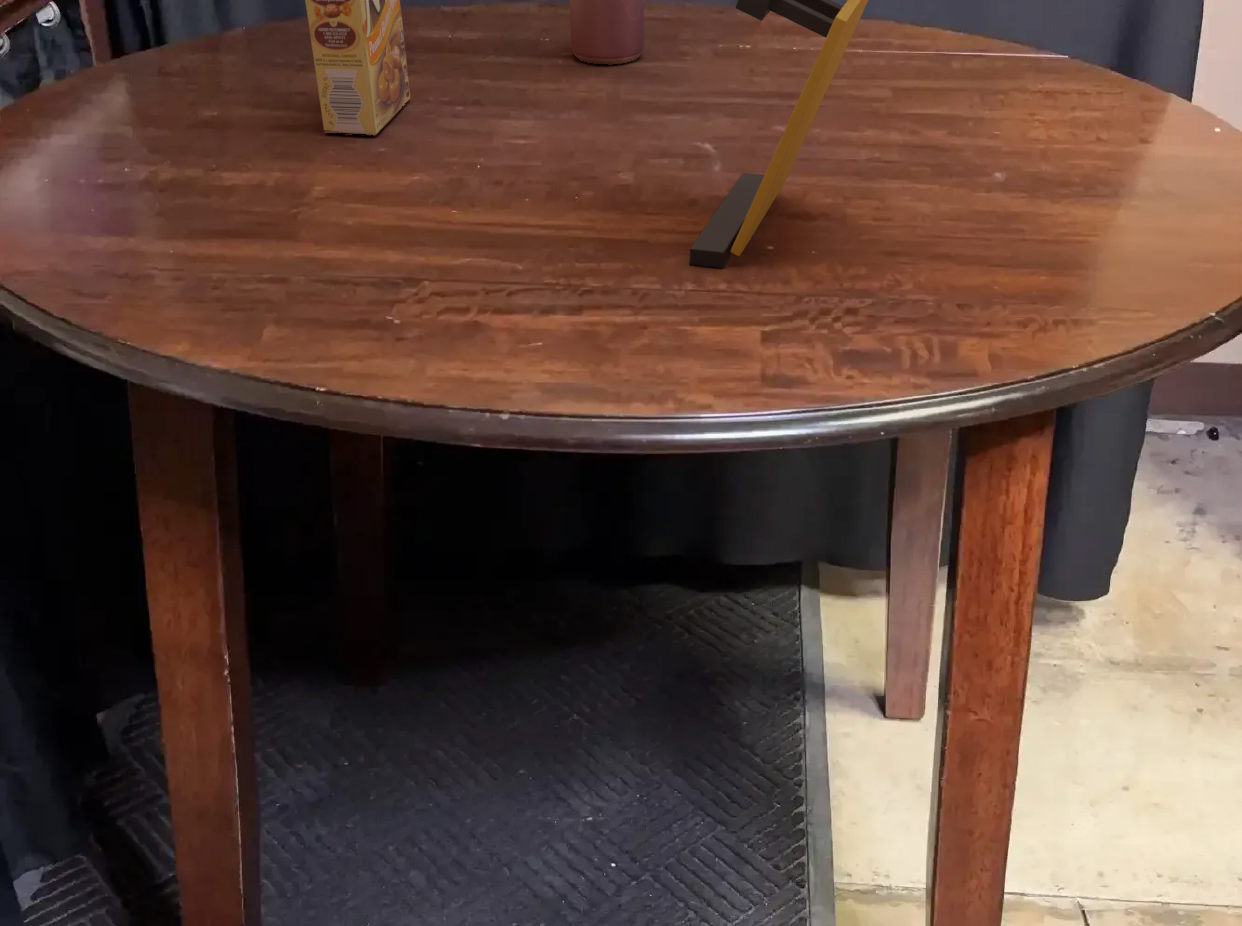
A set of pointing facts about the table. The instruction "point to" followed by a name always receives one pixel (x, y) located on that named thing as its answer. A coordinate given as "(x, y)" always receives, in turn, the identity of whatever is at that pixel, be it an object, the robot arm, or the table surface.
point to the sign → (816, 12)
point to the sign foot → (725, 224)
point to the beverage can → (607, 30)
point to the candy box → (358, 62)
